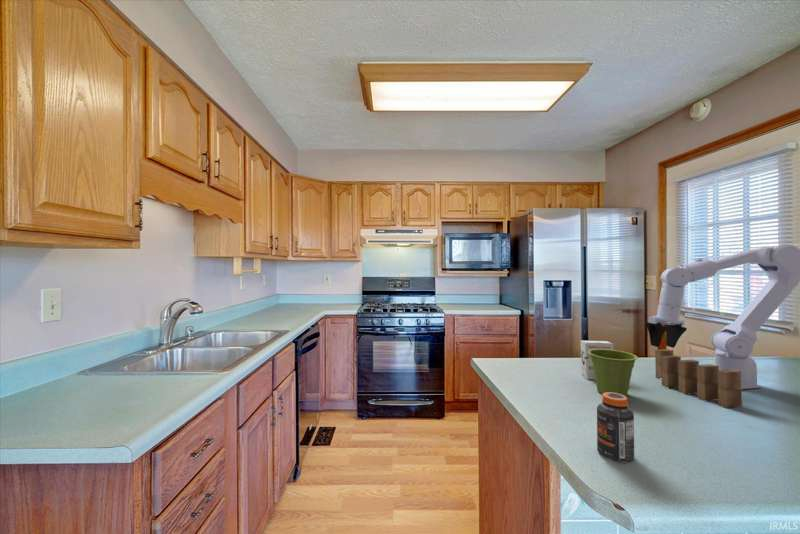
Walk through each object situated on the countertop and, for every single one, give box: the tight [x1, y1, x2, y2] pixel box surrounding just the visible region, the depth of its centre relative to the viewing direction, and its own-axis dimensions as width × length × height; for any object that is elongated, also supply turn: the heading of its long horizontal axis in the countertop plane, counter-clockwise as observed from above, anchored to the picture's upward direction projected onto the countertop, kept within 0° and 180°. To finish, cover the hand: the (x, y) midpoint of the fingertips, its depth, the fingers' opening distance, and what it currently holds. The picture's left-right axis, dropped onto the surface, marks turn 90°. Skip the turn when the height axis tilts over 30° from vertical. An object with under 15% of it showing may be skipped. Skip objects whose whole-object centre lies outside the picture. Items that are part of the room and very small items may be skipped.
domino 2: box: [661, 354, 682, 388], centre depth 100 cm, size 5×2×9 cm, turn 102°
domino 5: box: [717, 369, 743, 409], centre depth 86 cm, size 5×2×9 cm, turn 102°
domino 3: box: [678, 359, 700, 395], centre depth 96 cm, size 5×2×9 cm, turn 102°
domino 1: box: [654, 348, 674, 379], centre depth 109 cm, size 5×2×9 cm, turn 102°
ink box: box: [580, 339, 615, 381], centre depth 109 cm, size 9×5×12 cm, turn 80°
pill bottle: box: [596, 392, 635, 464], centre depth 63 cm, size 6×6×11 cm
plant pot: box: [588, 349, 638, 397], centre depth 95 cm, size 12×12×11 cm
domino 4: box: [696, 363, 719, 401], centre depth 91 cm, size 5×2×9 cm, turn 102°
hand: (662, 346), depth 108 cm, fingers open, 7 cm apart
